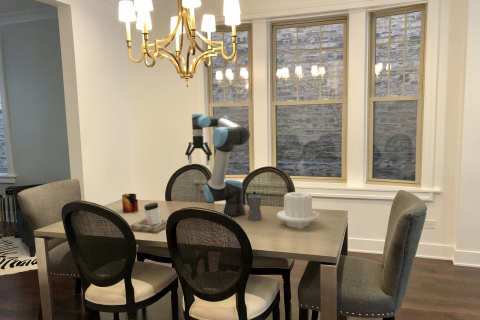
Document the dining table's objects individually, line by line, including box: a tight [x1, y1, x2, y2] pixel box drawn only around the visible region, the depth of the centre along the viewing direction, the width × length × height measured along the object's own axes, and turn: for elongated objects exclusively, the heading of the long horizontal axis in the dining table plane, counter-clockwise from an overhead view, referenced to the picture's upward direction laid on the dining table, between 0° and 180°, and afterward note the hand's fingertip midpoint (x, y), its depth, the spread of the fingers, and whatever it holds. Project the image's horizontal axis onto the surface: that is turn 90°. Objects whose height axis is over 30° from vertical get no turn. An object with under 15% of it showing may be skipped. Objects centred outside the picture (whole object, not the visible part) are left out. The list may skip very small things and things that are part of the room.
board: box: [129, 217, 168, 234], centre depth 233 cm, size 22×22×3 cm
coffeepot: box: [246, 191, 263, 222], centre depth 245 cm, size 15×9×18 cm, turn 33°
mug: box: [121, 193, 139, 214], centre depth 271 cm, size 10×14×12 cm
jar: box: [144, 202, 162, 225], centre depth 232 cm, size 9×8×12 cm
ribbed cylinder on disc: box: [276, 191, 320, 229], centre depth 228 cm, size 25×25×19 cm
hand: (198, 165), depth 273 cm, fingers open, 13 cm apart
